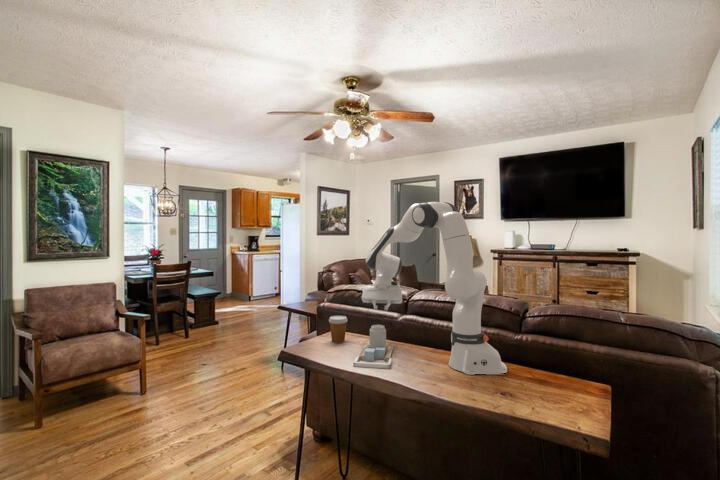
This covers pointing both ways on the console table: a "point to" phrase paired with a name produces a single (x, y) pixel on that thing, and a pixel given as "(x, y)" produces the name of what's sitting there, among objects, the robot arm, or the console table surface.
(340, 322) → the disposable coffee cup
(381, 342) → the can
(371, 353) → the light blue cubic block
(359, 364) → the white u-shaped frame
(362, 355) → the slot rails
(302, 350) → the console table surface
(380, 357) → the light blue boxy piece
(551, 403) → the console table surface
